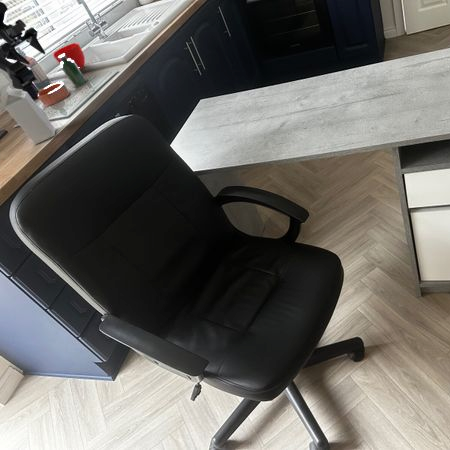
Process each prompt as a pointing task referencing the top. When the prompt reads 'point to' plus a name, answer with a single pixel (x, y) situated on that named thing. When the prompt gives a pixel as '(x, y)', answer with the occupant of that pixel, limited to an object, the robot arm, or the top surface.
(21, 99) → the milk carton
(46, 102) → the pot
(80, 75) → the green bottle
